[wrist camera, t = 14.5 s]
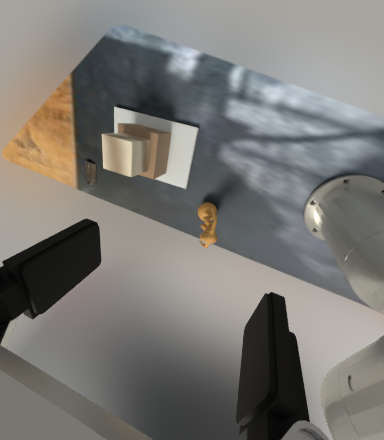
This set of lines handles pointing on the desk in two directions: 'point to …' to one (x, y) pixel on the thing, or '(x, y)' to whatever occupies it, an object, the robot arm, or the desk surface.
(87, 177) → the block
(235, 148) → the desk surface
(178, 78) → the desk surface
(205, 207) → the figurine
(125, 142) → the maple block
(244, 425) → the robot arm
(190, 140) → the build board
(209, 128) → the desk surface
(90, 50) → the desk surface
